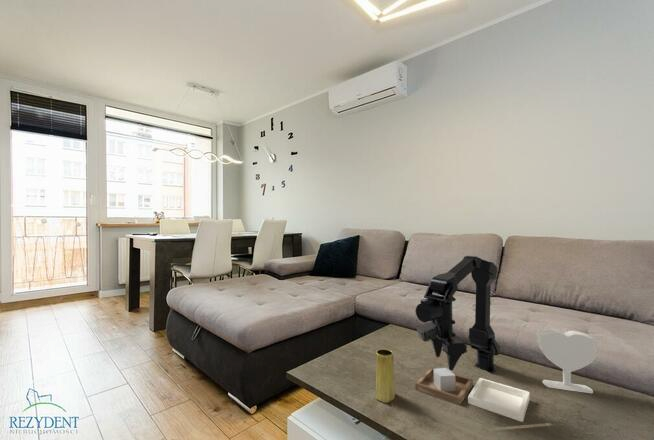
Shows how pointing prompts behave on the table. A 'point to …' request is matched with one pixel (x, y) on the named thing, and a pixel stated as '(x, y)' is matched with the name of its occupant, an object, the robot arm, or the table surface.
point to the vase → (384, 375)
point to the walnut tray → (456, 397)
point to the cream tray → (500, 399)
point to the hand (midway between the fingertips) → (444, 363)
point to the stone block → (444, 379)
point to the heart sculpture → (567, 355)
